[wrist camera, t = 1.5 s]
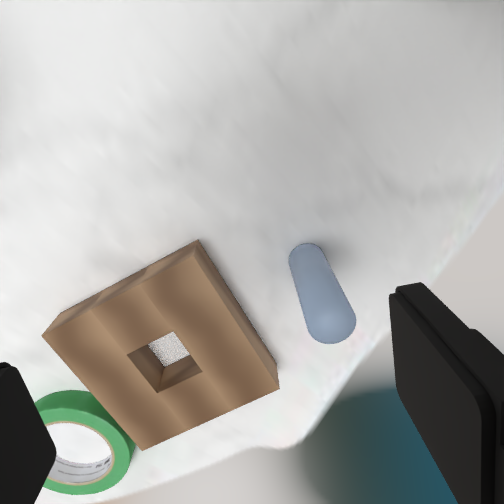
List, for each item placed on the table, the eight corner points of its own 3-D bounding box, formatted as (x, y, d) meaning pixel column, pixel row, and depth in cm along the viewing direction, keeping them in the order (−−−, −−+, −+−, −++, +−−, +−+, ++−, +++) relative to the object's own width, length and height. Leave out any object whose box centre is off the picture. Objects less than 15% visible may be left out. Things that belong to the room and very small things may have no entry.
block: (197, 239, 33) (193, 255, 30) (276, 363, 38) (279, 388, 34) (59, 313, 35) (41, 335, 32) (150, 421, 40) (142, 451, 36)
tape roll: (81, 488, 43) (71, 512, 41) (0, 425, 40) (-16, 447, 37) (159, 440, 41) (154, 462, 39) (81, 369, 38) (69, 388, 35)
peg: (315, 237, 33) (344, 293, 24) (330, 266, 34) (363, 331, 25) (282, 253, 34) (298, 314, 24) (298, 282, 35) (319, 351, 25)
